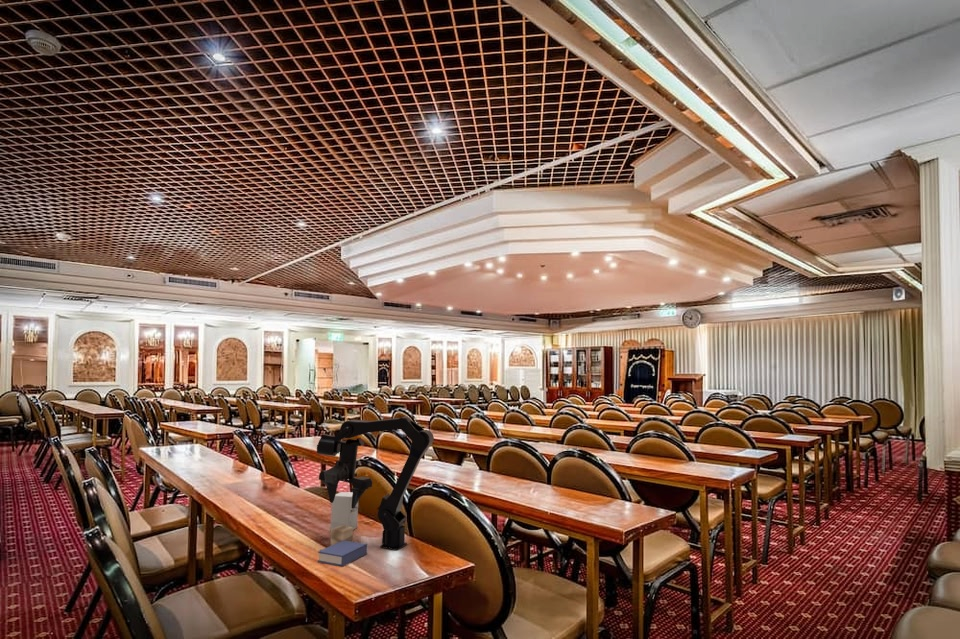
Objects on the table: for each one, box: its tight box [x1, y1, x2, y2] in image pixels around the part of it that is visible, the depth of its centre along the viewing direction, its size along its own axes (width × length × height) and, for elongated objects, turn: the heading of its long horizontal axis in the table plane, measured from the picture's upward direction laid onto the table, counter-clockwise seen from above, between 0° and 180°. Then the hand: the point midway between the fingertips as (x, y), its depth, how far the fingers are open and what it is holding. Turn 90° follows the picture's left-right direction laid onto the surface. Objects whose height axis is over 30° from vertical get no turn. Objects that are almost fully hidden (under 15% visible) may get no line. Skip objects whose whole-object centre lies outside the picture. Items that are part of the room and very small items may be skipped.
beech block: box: [329, 526, 354, 546], centre depth 170 cm, size 5×5×5 cm
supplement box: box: [329, 491, 359, 533], centre depth 186 cm, size 7×7×13 cm
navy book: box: [317, 540, 368, 567], centre depth 156 cm, size 9×12×3 cm
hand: (342, 505), depth 171 cm, fingers open, 9 cm apart
